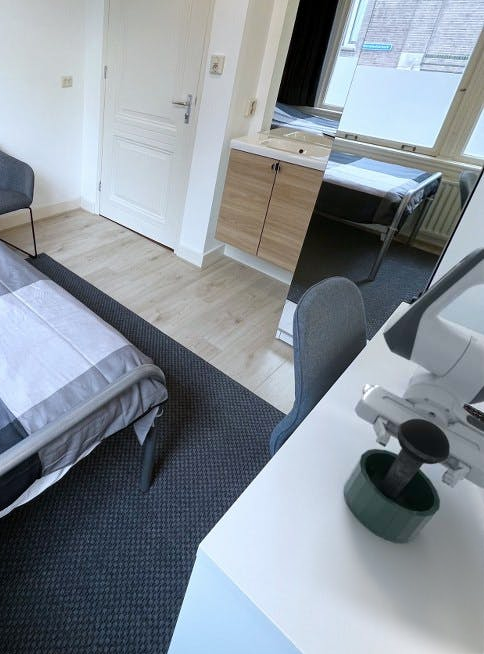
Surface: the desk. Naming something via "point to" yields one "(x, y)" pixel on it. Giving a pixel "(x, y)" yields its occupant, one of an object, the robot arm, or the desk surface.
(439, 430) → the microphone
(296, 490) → the desk surface
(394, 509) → the tin
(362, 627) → the desk surface
